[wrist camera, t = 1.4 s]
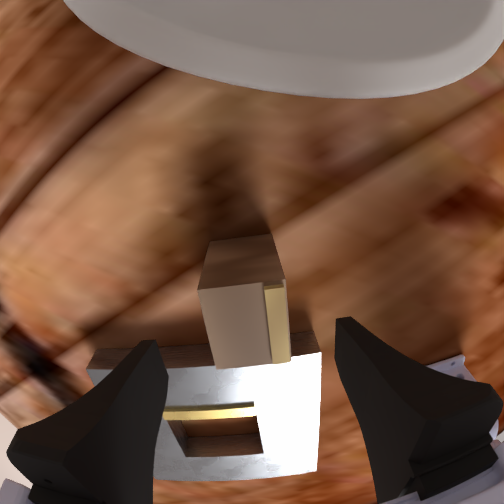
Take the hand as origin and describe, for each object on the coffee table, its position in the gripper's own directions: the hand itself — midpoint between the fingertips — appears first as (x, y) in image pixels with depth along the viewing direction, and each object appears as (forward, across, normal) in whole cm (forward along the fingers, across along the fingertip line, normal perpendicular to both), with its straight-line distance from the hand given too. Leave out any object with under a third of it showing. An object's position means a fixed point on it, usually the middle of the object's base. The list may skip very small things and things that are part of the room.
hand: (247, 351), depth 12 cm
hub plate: (+8, +4, +13) cm, 16 cm away
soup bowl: (+8, -5, -21) cm, 23 cm away
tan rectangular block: (+8, 0, 0) cm, 8 cm away
